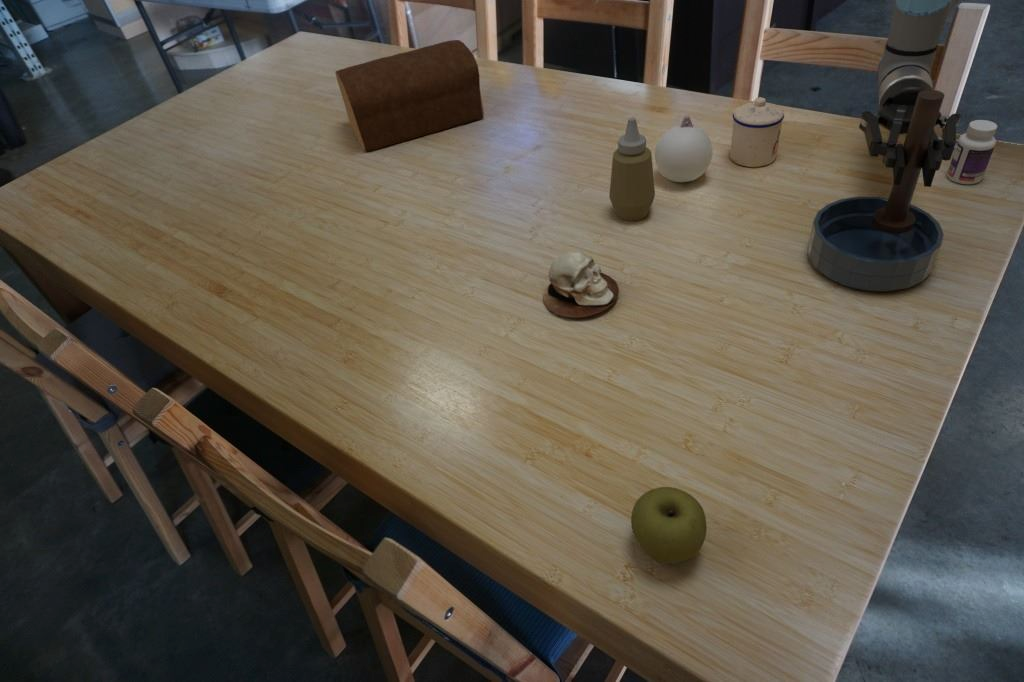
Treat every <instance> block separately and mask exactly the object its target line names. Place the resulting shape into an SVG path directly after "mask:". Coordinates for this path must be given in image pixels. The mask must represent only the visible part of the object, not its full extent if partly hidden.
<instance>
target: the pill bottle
mask: <svg viewBox="0 0 1024 682" xmlns="http://www.w3.org/2000/svg"><path fill="white" fill-rule="evenodd" d="M997 130H998V124H997V123H996V122H993V121H991V120H987V119H974V120H972V121H970V122H969V124H968V126H967V129H966V132H965V133H962V135H960V136H959V138H958V140H957V142H956V145H955V148H954V151H953V153H952V156H951V159H950V163H949V166H948V169H947V173H946V176H947V178H948V179H949V180H950V181H952V182H954V183H957V184H961V185H974V184H978V183H979V182H981V181H982V179H983V178H984V176H985V173H986V170H987V168H988V165H989V163H990V159H991V158H992V154H993V153H994V150H995V147H996V144H997V140H996V137H995V134H996V131H997Z"/></svg>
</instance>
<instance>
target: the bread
mask: <svg viewBox="0 0 1024 682" xmlns="http://www.w3.org/2000/svg"><path fill="white" fill-rule="evenodd" d="M335 79H336V81H337V85H338V87H339V91H340V94H341V98H342V101H343V104H344V107H345V111H346V115H347V118H348V121H349V125H350V127H351V129H352V131H353V132H354V135H355V137H356V139H357V141H358V143H359V145H360V147H361V149H363V151H365V153H367V152H370V151H375V150H378V149H381V148H385V147H389V146H391V145H395V144H398V143H401V142H402V143H403V142H407V141H411V140H414V139H416V138H419V137H424V136H427V135H430V134H435V133H438V132H442V131H445V130H447V129H450V128H454V127H457V126H460V125H464V124H467V123H471V122H474V121H477V120H480V119H483V118H484V115H485V112H484V105H483V99H482V95H481V84H480V71H479V65H478V63H477V60H476V58H475V56H474V54H473V53H472V51H471V50H470V48H469V47H468V46H467V45H466V44H465V43H464V42H463V41H462V40H461V39H454V40H453V39H451V40H447V41H442V42H439V43H435V44H430V45H426V46H423V47H419V48H417V49H412V50H409V51H405V52H399V53H395V54H392V55H389V56H385V57H379V58H377V59H372V60H370V61H366V62H363V63H359V64H354V65H351V66H348V67H345V68H341V69H338V70H335Z"/></svg>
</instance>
